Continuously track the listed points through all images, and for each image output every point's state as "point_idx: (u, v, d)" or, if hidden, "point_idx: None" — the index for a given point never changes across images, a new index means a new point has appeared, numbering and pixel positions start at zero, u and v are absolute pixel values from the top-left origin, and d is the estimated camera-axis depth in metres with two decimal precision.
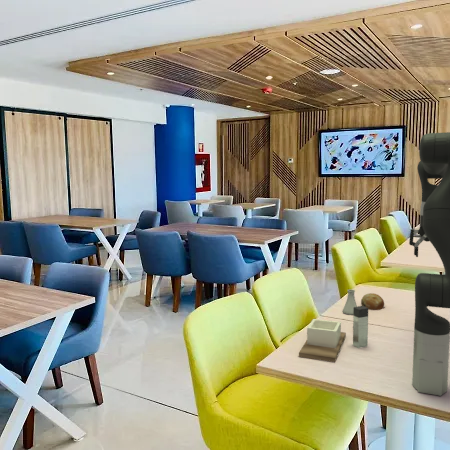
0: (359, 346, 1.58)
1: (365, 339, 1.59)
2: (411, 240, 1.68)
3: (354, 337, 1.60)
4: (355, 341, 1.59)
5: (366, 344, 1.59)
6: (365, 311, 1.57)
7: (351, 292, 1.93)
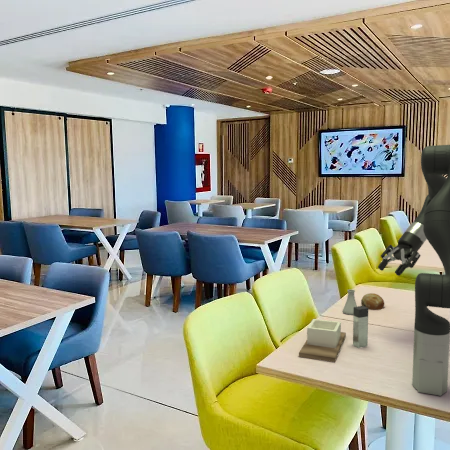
0: (359, 346, 1.58)
1: (365, 339, 1.59)
2: (384, 253, 1.68)
3: (354, 337, 1.60)
4: (355, 341, 1.59)
5: (366, 344, 1.59)
6: (365, 311, 1.57)
7: (351, 292, 1.93)
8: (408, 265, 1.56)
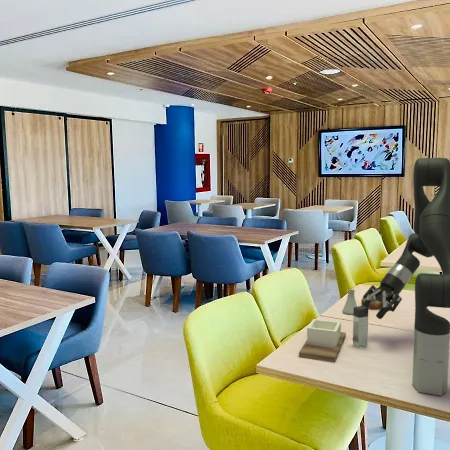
0: (359, 346, 1.58)
1: (365, 339, 1.59)
2: (366, 293, 1.67)
3: (354, 337, 1.60)
4: (355, 341, 1.59)
5: (366, 344, 1.59)
6: (365, 311, 1.57)
7: (351, 292, 1.93)
8: (389, 309, 1.55)
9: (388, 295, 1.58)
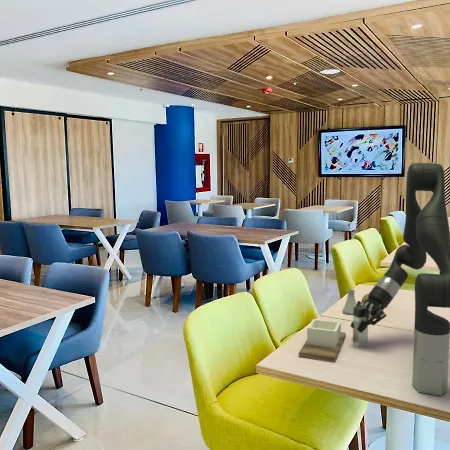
0: (359, 346, 1.58)
1: (365, 339, 1.59)
2: None
3: (354, 337, 1.60)
4: (355, 341, 1.59)
5: (366, 344, 1.59)
6: (365, 311, 1.57)
7: (351, 292, 1.93)
8: (370, 322, 1.55)
9: (374, 310, 1.57)
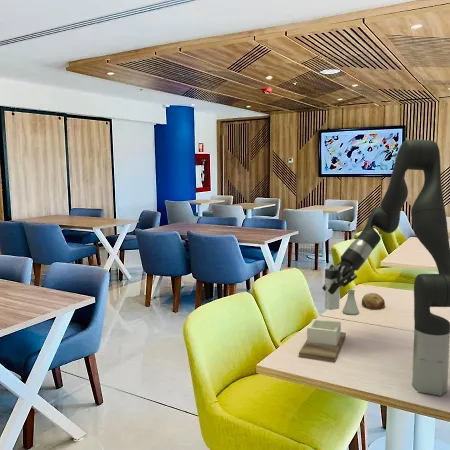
0: (330, 308, 1.58)
1: (336, 301, 1.58)
2: None
3: (325, 300, 1.59)
4: (326, 304, 1.59)
5: (337, 306, 1.59)
6: (336, 272, 1.57)
7: (351, 292, 1.93)
8: (341, 284, 1.55)
9: (345, 271, 1.57)
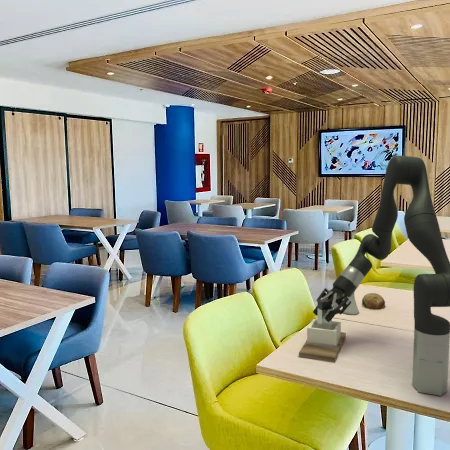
0: None
1: None
2: (319, 297, 1.65)
3: None
4: None
5: None
6: (328, 303, 1.58)
7: None
8: (337, 311, 1.54)
9: (338, 298, 1.58)
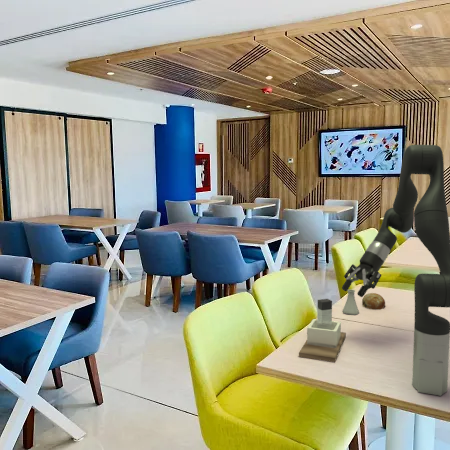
0: None
1: None
2: (347, 273, 1.68)
3: None
4: None
5: None
6: (328, 303, 1.58)
7: (351, 292, 1.93)
8: (370, 286, 1.56)
9: (368, 273, 1.60)
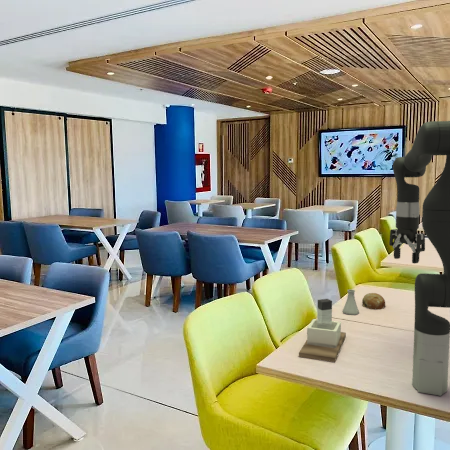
0: None
1: None
2: (390, 240, 1.63)
3: None
4: None
5: None
6: (328, 303, 1.58)
7: (351, 292, 1.93)
8: (420, 251, 1.51)
9: (410, 237, 1.54)
